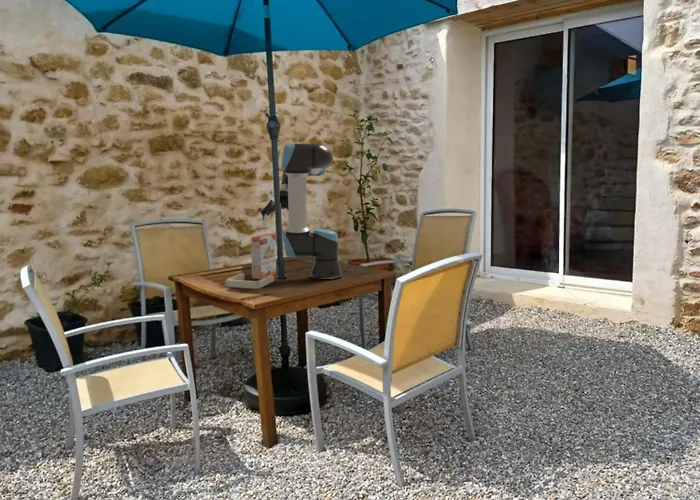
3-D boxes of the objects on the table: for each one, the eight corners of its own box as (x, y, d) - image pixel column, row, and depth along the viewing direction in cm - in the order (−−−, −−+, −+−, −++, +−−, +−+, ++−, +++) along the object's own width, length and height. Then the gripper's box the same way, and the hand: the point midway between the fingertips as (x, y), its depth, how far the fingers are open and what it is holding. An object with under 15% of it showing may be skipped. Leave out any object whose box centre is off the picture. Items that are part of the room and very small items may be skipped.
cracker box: (261, 280, 283) (260, 237, 280) (251, 279, 286) (249, 236, 282) (277, 274, 296) (276, 233, 292) (267, 273, 298) (265, 233, 295)
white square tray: (274, 281, 281) (273, 274, 280) (258, 288, 264) (258, 282, 264) (241, 279, 285) (241, 273, 285) (224, 286, 269) (224, 280, 269)
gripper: (308, 199, 315) (300, 230, 303) (265, 198, 321) (255, 229, 309) (305, 189, 309) (297, 221, 297) (261, 189, 315) (251, 220, 303)
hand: (275, 225), depth 303 cm, fingers open, 13 cm apart
